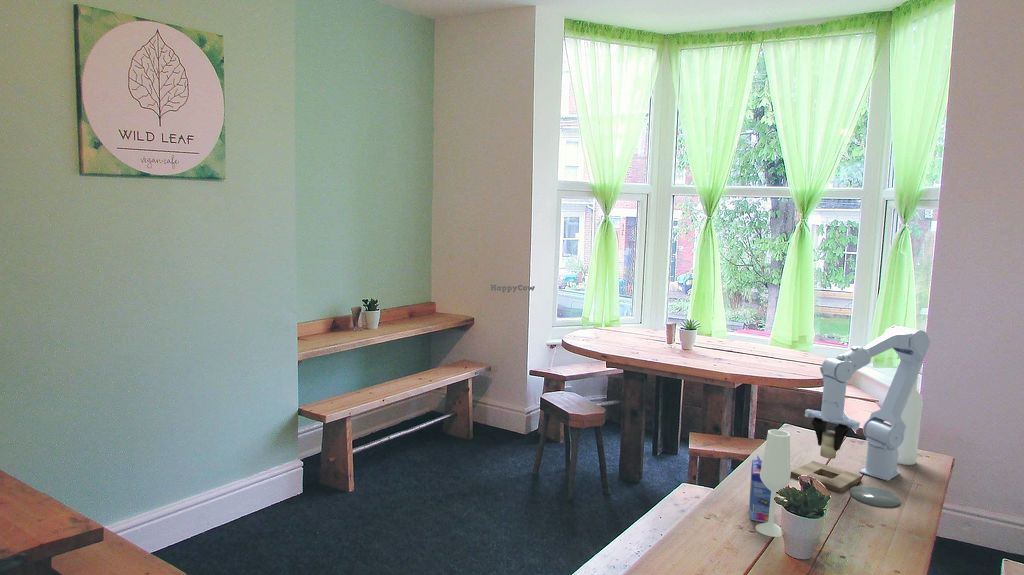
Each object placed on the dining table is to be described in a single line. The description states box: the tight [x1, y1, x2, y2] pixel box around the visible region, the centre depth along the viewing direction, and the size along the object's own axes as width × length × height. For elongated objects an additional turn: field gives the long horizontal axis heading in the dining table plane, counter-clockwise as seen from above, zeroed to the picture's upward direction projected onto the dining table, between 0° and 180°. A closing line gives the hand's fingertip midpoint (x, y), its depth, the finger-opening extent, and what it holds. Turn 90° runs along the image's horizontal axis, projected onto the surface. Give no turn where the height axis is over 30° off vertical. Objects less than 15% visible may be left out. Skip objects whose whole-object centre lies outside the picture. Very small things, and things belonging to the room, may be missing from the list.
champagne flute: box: [755, 429, 791, 538], centre depth 160 cm, size 7×7×24 cm
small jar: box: [819, 429, 837, 459], centre depth 193 cm, size 4×4×7 cm
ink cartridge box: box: [748, 455, 771, 523], centre depth 169 cm, size 10×6×14 cm, turn 161°
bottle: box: [897, 375, 924, 466], centre depth 209 cm, size 8×8×30 cm
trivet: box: [849, 485, 901, 508], centre depth 182 cm, size 12×12×1 cm
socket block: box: [790, 460, 863, 494], centre depth 194 cm, size 14×14×2 cm
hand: (828, 447), depth 193 cm, fingers closed on small jar, 4 cm apart
